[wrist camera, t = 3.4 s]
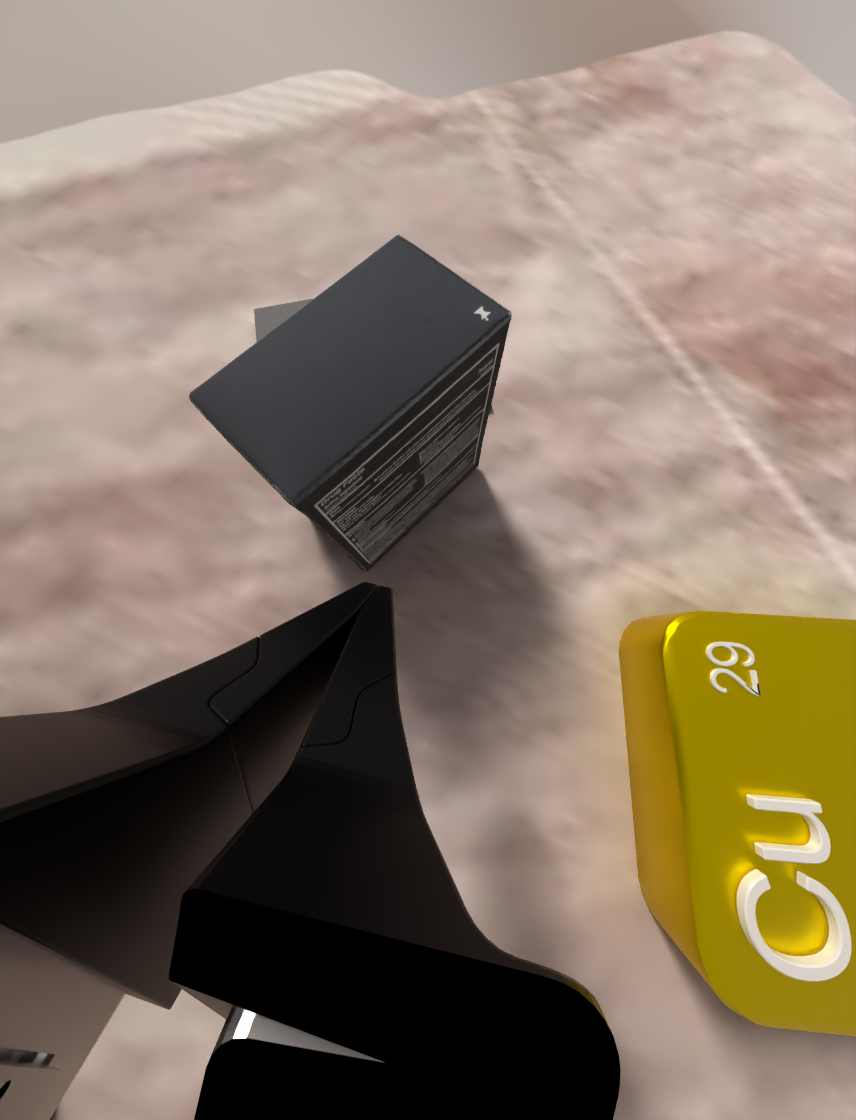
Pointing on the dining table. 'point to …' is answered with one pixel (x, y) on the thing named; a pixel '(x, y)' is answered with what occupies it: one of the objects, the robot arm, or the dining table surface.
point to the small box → (367, 397)
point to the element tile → (749, 805)
